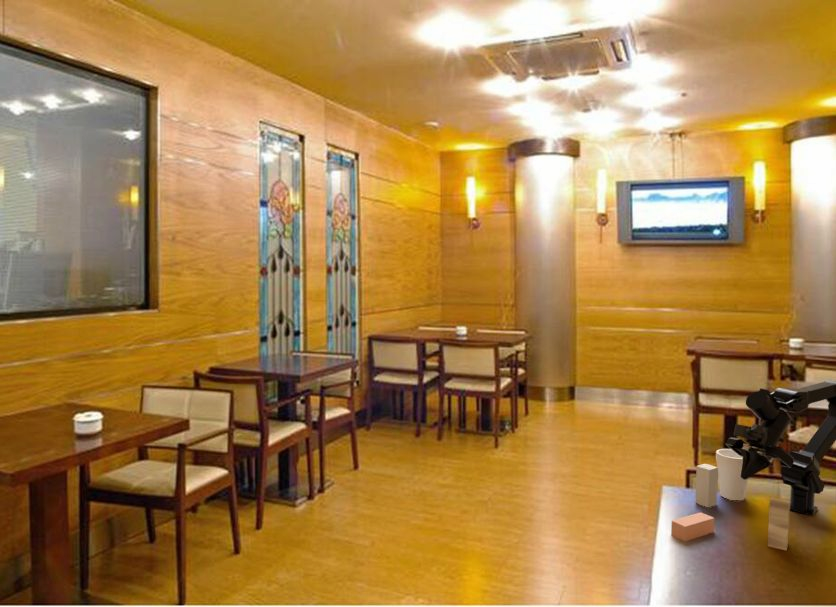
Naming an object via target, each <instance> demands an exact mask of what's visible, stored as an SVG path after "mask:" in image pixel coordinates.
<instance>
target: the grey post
mask: <svg viewBox="0 0 836 607" xmlns="http://www.w3.org/2000/svg"><path fill="white" fill-rule="evenodd" d="M695 476H696V477H695V501H694V503H695V504H696V503H698V504H700V505H699V506H701V505H703V506H702V507H704V506H705V507H704V508H706V507H710V508H712V507H711V506H713V505H716V506H718V488H719V479H718V467H717V466H714V465H712V464H708V463H703V464H699V465H696V473H695ZM698 504H697V505H698ZM713 507H714V506H713Z"/></svg>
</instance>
